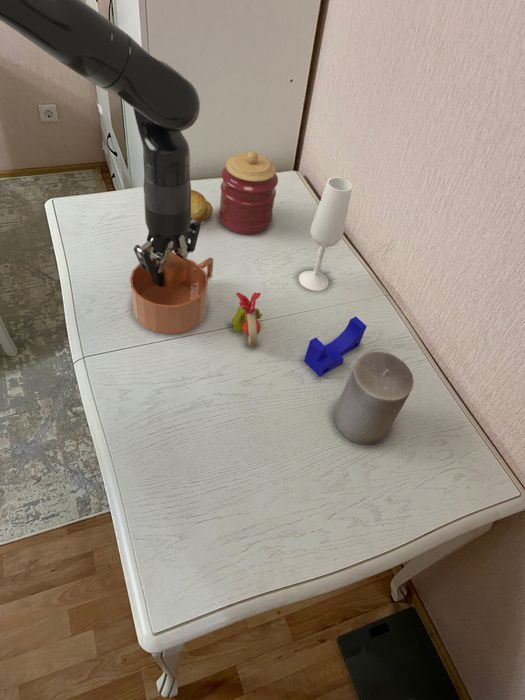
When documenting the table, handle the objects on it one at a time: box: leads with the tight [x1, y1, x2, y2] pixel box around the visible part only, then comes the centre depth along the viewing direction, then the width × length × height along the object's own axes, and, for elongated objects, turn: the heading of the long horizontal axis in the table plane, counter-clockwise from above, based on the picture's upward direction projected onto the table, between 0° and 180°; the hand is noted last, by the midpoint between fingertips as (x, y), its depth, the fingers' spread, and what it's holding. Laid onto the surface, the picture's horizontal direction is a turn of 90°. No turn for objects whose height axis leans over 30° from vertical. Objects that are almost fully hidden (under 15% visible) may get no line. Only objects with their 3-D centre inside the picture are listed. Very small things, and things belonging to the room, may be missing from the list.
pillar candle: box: [333, 350, 415, 446], centre depth 83 cm, size 10×10×15 cm
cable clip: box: [303, 316, 368, 378], centre depth 96 cm, size 12×4×6 cm, turn 128°
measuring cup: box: [129, 257, 214, 335], centre depth 99 cm, size 19×14×8 cm
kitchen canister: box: [218, 150, 279, 236], centre depth 117 cm, size 13×13×18 cm
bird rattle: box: [230, 292, 263, 347], centre depth 95 cm, size 6×11×9 cm
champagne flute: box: [298, 176, 353, 292], centre depth 103 cm, size 7×7×24 cm
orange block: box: [157, 251, 187, 291], centre depth 93 cm, size 4×4×4 cm
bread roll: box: [191, 189, 214, 224], centre depth 117 cm, size 13×10×8 cm
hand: (169, 278), depth 95 cm, fingers closed on orange block, 4 cm apart
